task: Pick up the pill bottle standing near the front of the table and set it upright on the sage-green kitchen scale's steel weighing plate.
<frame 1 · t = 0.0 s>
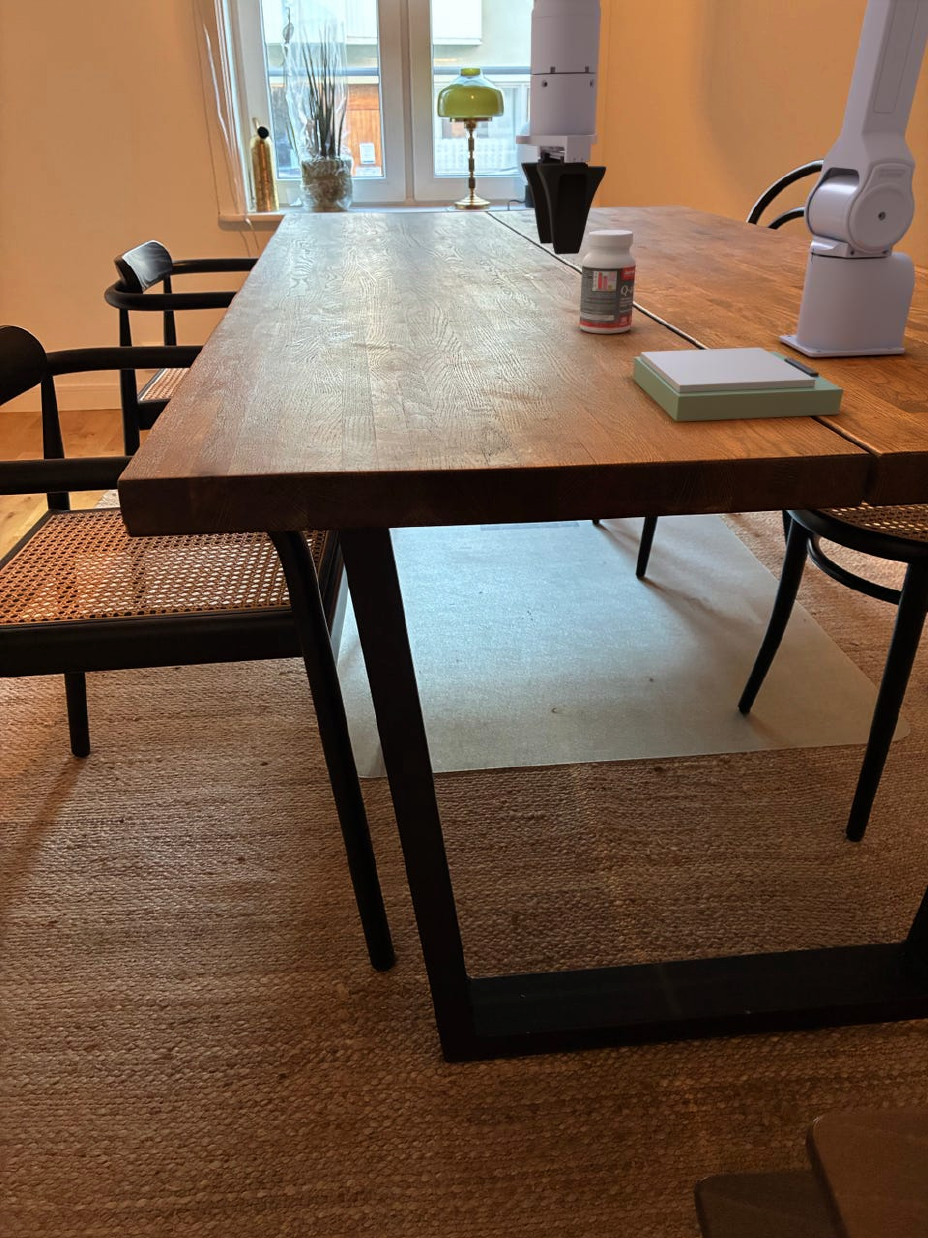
hand: (558, 248, 82), 10 cm above the table, tool pointing down, fingers open, 7 cm apart
pill bottle: (604, 331, 99), on the table
scale: (728, 395, 75), on the table
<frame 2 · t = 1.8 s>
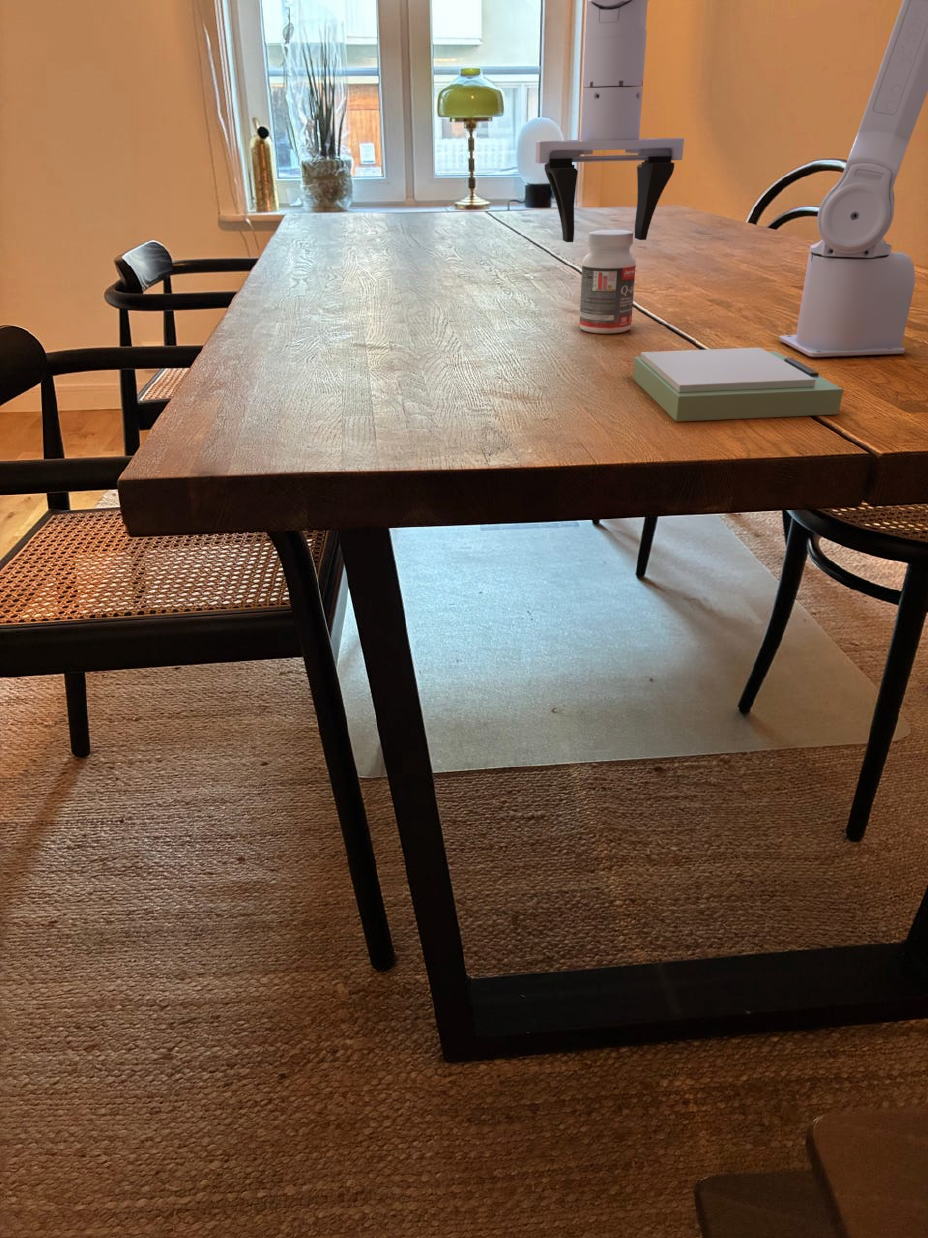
hand: (604, 239, 93), 9 cm above the table, tool pointing down, fingers open, 7 cm apart
nothing on the table moved.
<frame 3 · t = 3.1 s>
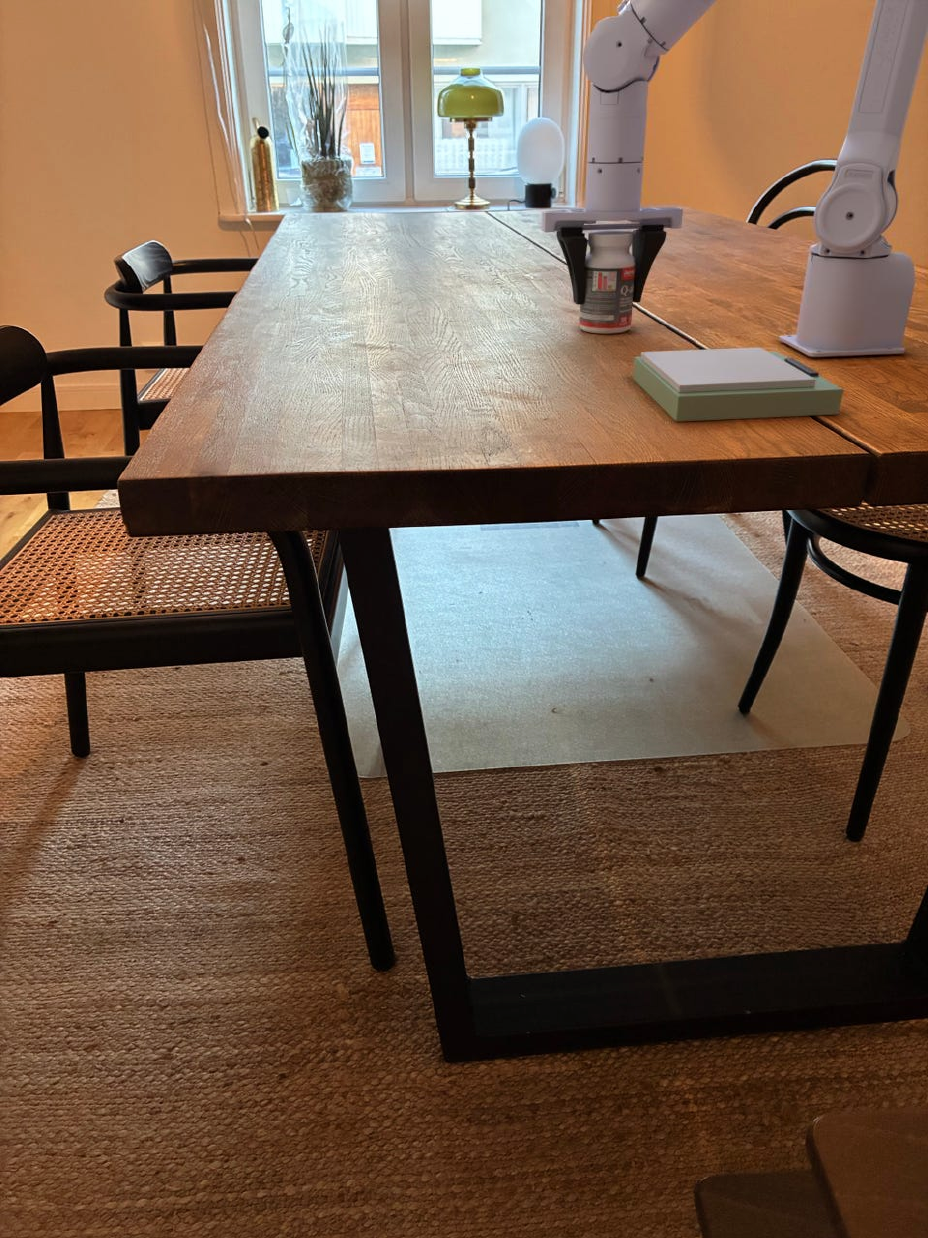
hand: (607, 301, 97), 3 cm above the table, tool pointing down, fingers closed on pill bottle, 5 cm apart
pill bottle: (604, 331, 99), on the table, touching gripper
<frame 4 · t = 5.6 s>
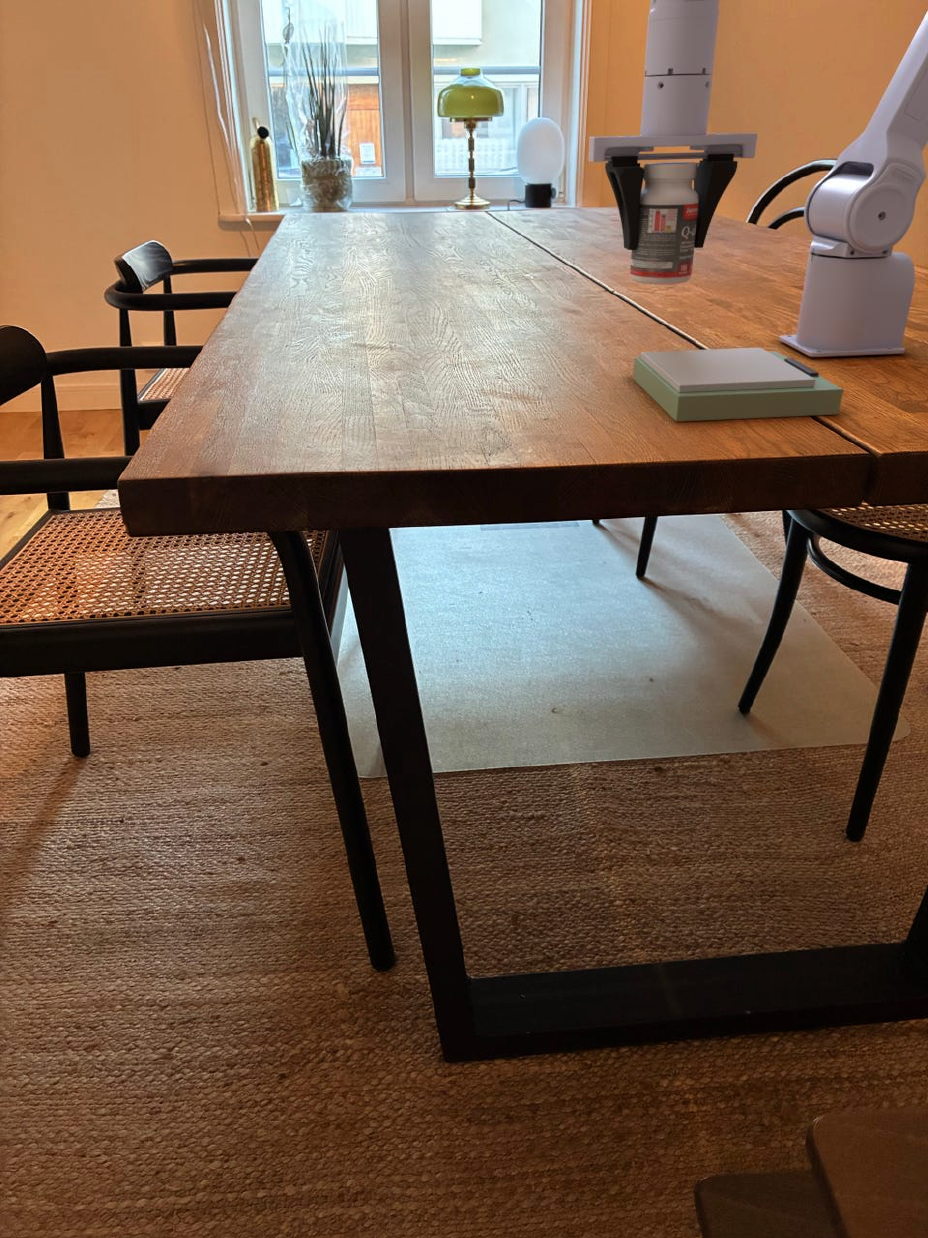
hand: (663, 247, 83), 10 cm above the table, tool pointing down, fingers closed on pill bottle, 5 cm apart
pill bottle: (659, 282, 84), point 7 cm above the table, touching gripper
when the fingers open (5 cm above the table, at t = 8.4 s): pill bottle stays where it is, resting on scale.
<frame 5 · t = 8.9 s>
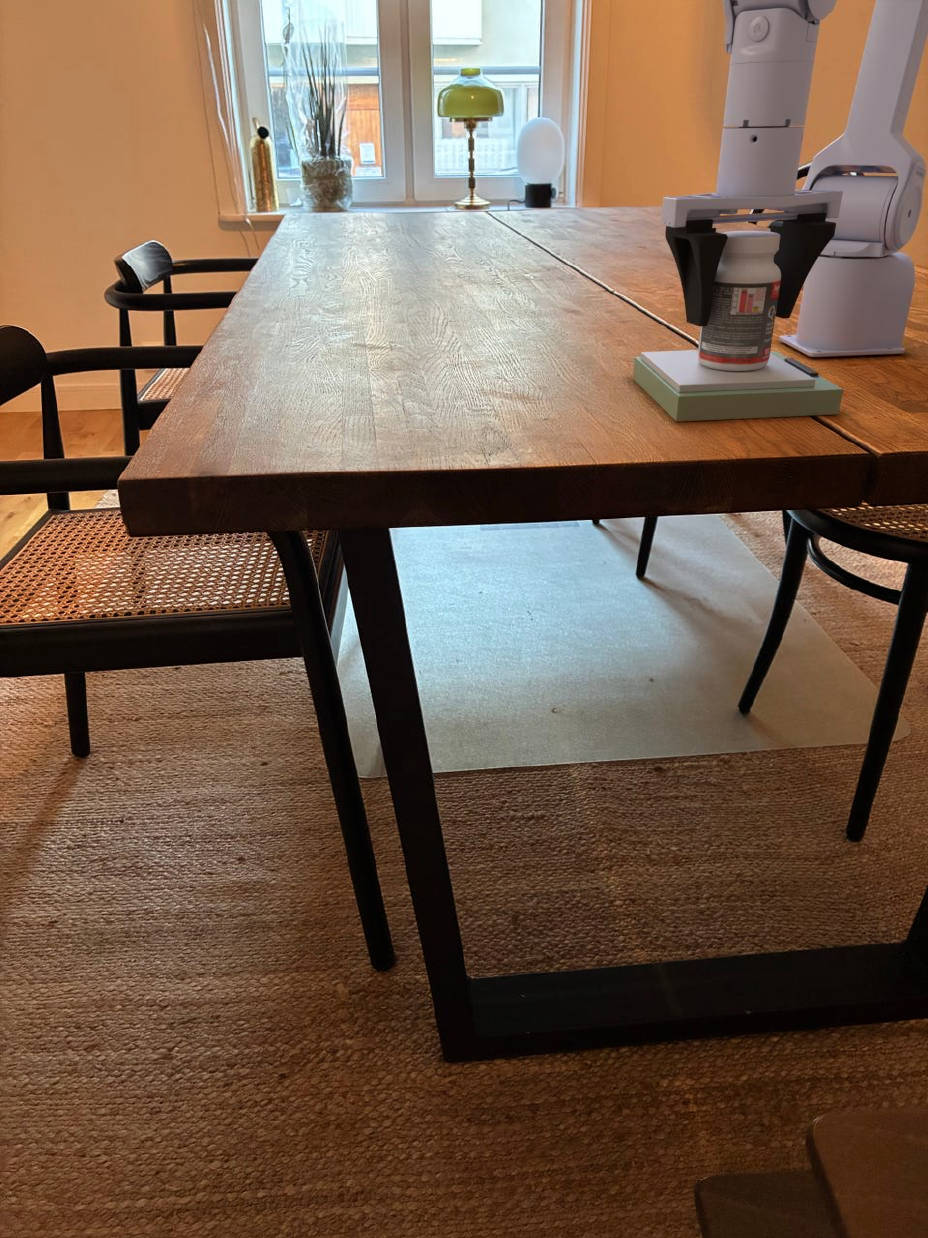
hand: (738, 320, 72), 6 cm above the table, tool pointing down, fingers open, 7 cm apart
pill bottle: (731, 366, 73), point 2 cm above the table, touching scale
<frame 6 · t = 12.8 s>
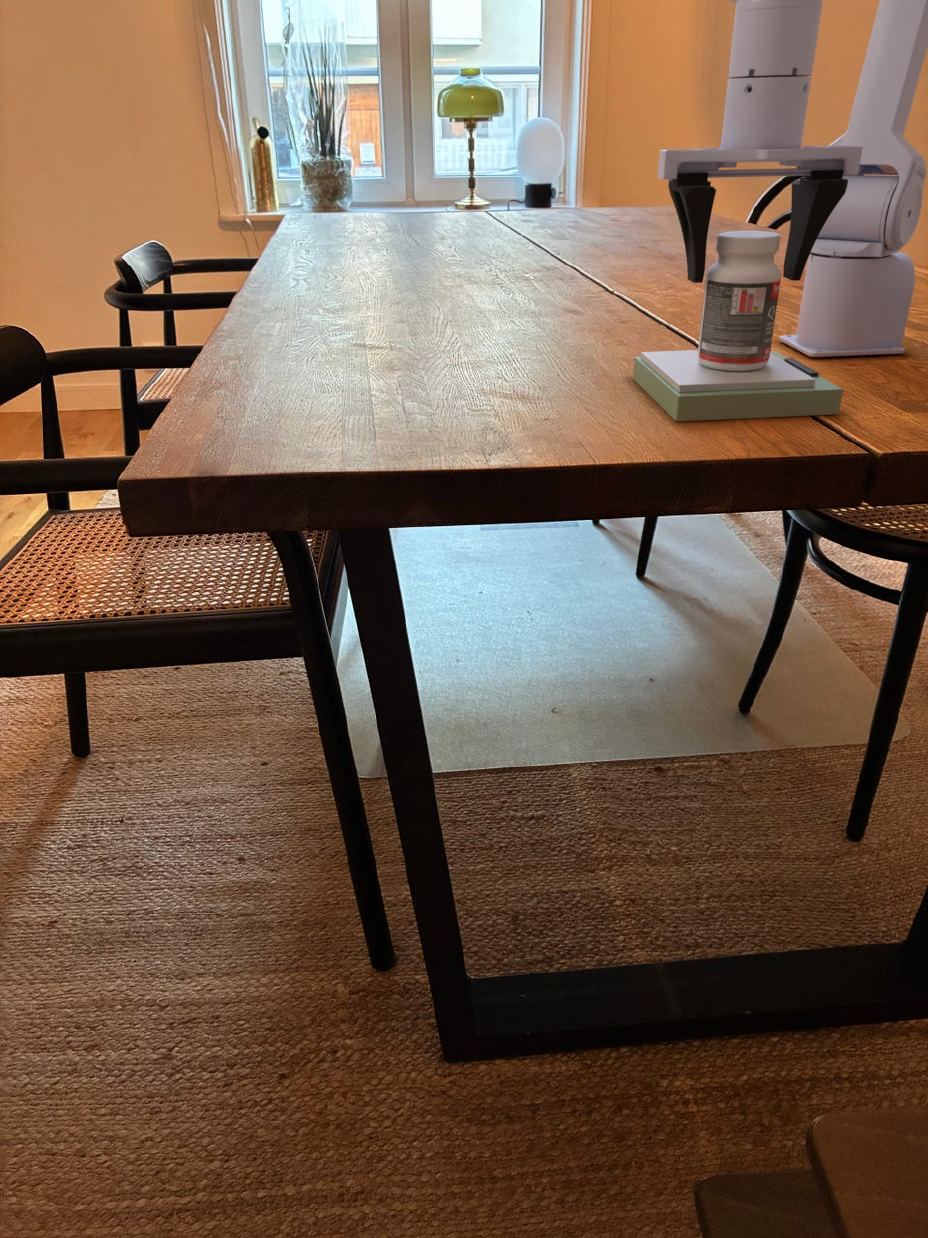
hand: (743, 279, 70), 9 cm above the table, tool pointing down, fingers open, 7 cm apart
nothing on the table moved.
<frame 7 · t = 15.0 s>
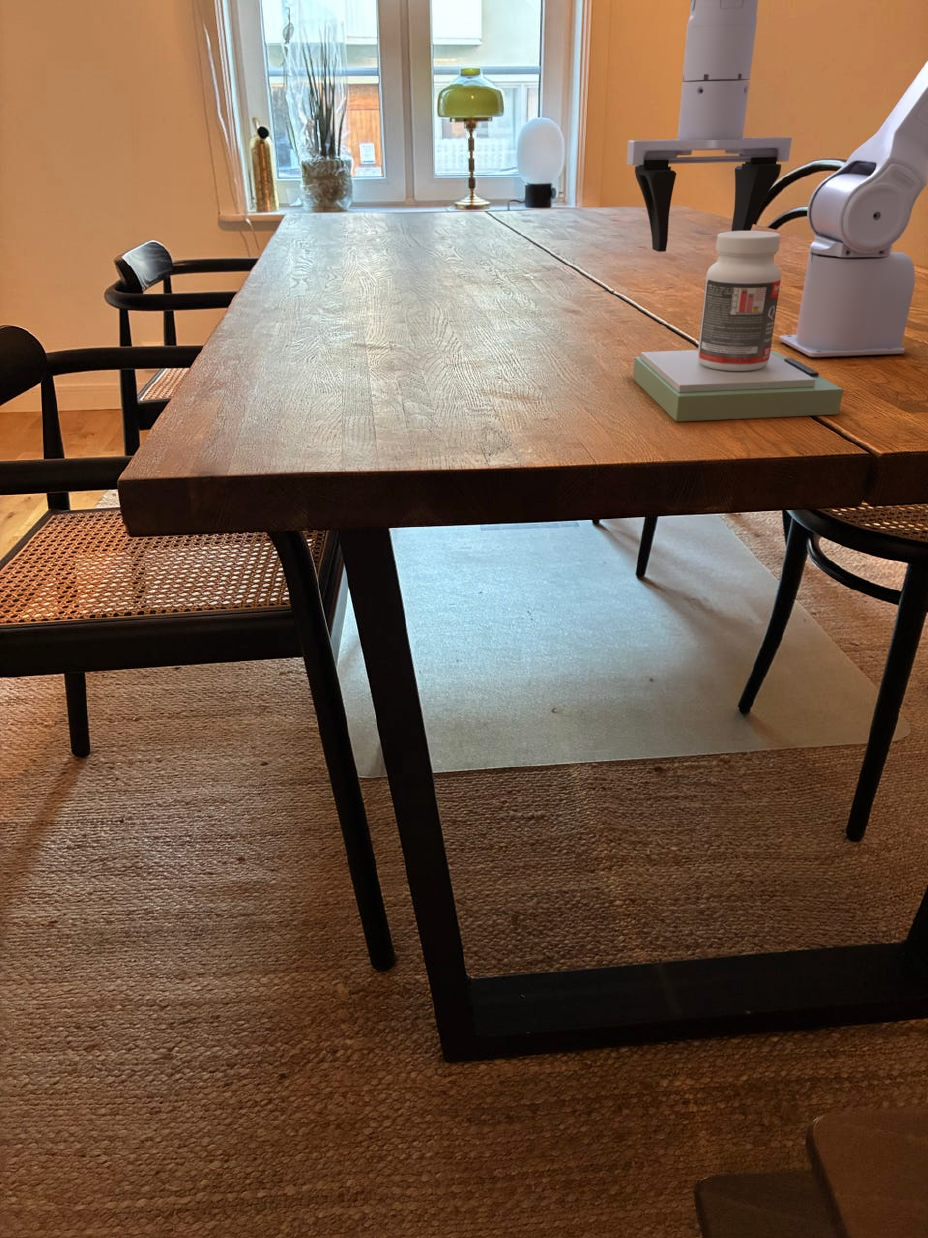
hand: (698, 249, 84), 9 cm above the table, tool pointing down, fingers open, 7 cm apart
nothing on the table moved.
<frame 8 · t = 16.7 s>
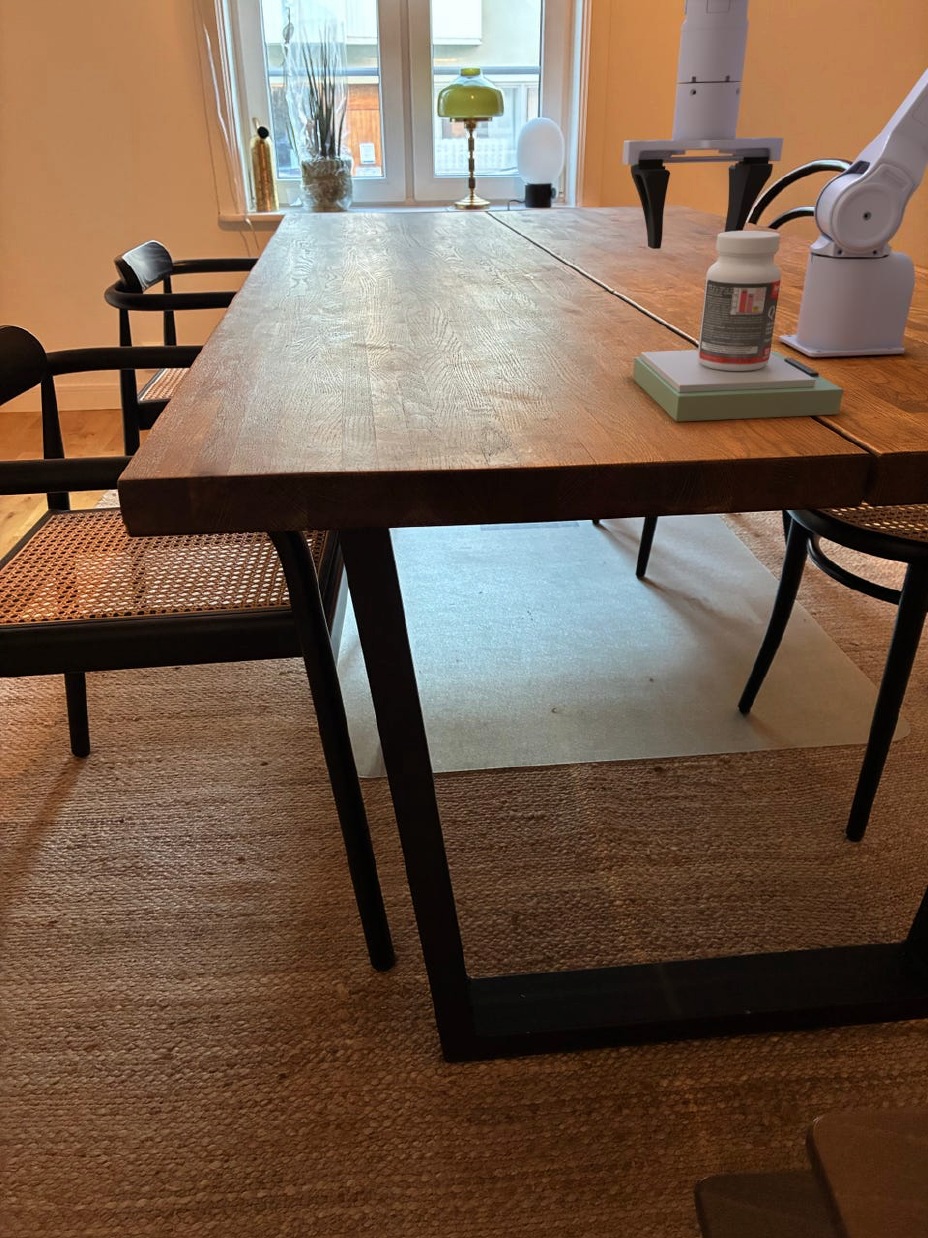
hand: (692, 246, 87), 9 cm above the table, tool pointing down, fingers open, 7 cm apart
nothing on the table moved.
at the end: pill bottle inside the target area on the scale (0.4 cm from its centre), point 2.4 cm above the scale's base; pill bottle tilted 0°; the gripper is holding nothing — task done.
